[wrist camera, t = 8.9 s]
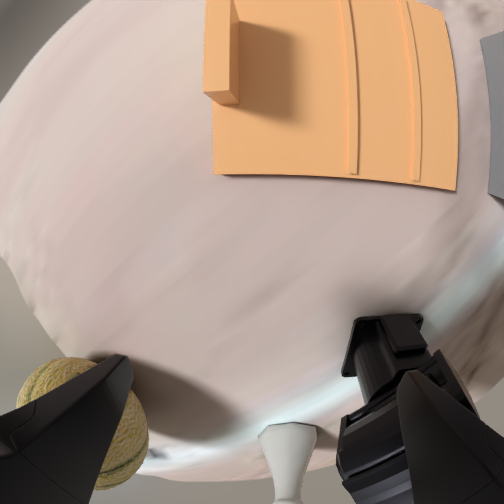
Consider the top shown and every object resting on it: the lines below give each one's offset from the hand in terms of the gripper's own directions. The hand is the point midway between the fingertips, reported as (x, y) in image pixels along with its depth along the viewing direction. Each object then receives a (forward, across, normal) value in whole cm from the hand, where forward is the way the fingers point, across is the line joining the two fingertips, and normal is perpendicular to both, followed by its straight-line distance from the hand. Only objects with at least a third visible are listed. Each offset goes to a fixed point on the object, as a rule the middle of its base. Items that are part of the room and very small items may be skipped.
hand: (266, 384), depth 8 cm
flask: (+12, -3, +24) cm, 27 cm away
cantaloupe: (+12, +18, +17) cm, 27 cm away
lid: (+12, -4, -12) cm, 18 cm away
